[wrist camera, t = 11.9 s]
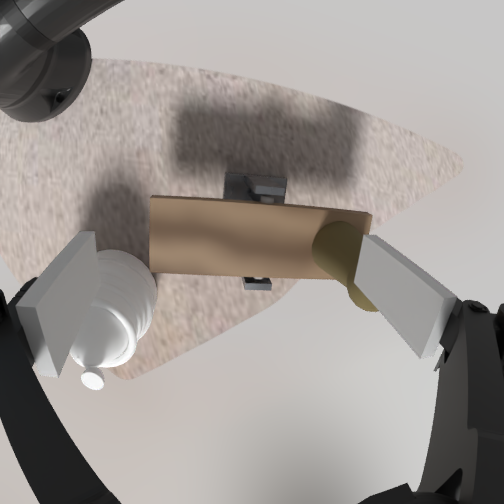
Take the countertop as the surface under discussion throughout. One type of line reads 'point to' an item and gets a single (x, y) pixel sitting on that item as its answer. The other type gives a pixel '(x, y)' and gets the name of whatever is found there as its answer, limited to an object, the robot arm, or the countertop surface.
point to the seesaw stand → (251, 191)
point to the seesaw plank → (240, 236)
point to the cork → (341, 258)
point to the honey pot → (114, 315)
